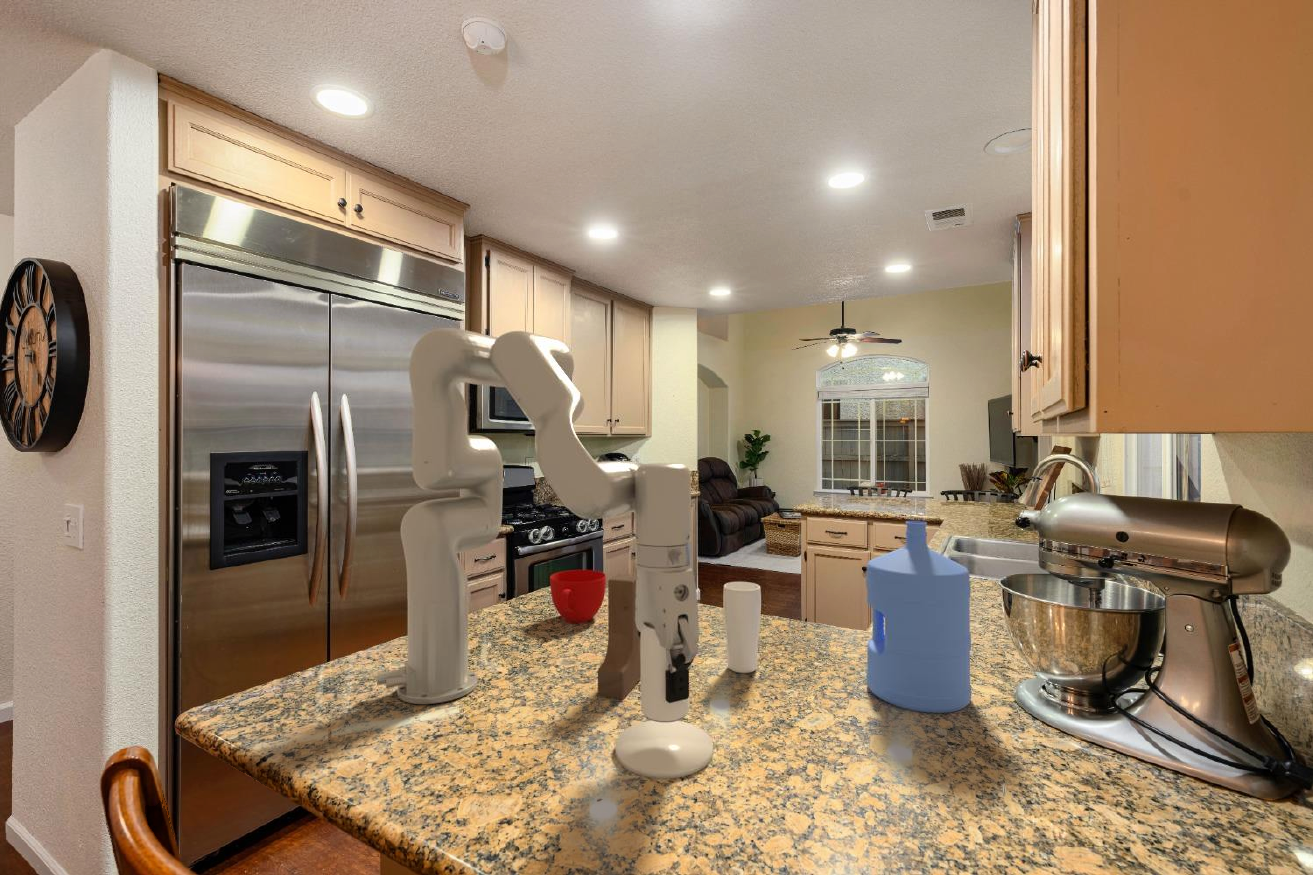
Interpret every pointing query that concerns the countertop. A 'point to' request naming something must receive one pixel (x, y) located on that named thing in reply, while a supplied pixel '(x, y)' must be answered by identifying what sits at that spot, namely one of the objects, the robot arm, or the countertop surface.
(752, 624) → the drinking glass
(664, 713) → the can
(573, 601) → the ceramic cup
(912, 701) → the water jug
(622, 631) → the wooden block
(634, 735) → the white dome
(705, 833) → the countertop surface
